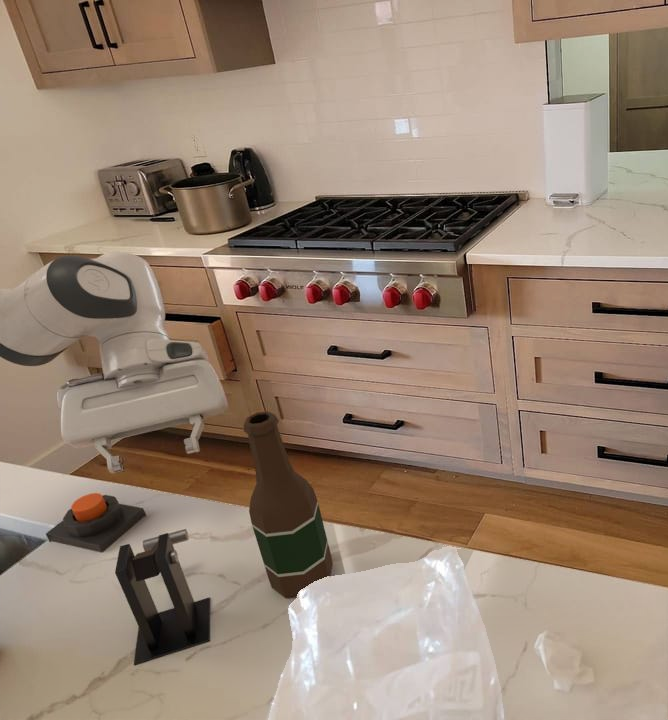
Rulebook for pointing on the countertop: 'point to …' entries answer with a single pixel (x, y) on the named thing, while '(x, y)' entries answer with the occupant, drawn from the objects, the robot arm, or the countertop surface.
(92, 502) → the button
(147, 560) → the power lever
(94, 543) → the panel
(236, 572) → the countertop surface
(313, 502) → the beer bottle
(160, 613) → the power switch
